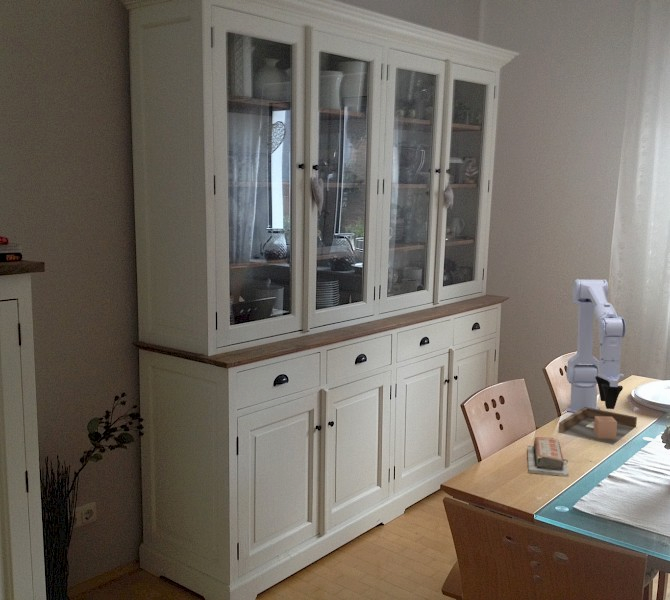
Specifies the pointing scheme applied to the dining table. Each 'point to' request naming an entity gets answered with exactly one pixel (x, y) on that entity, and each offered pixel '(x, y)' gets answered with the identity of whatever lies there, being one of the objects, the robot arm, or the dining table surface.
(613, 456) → the dining table surface
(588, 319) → the robot arm
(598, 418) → the cube
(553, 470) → the packaged product
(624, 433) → the tray
